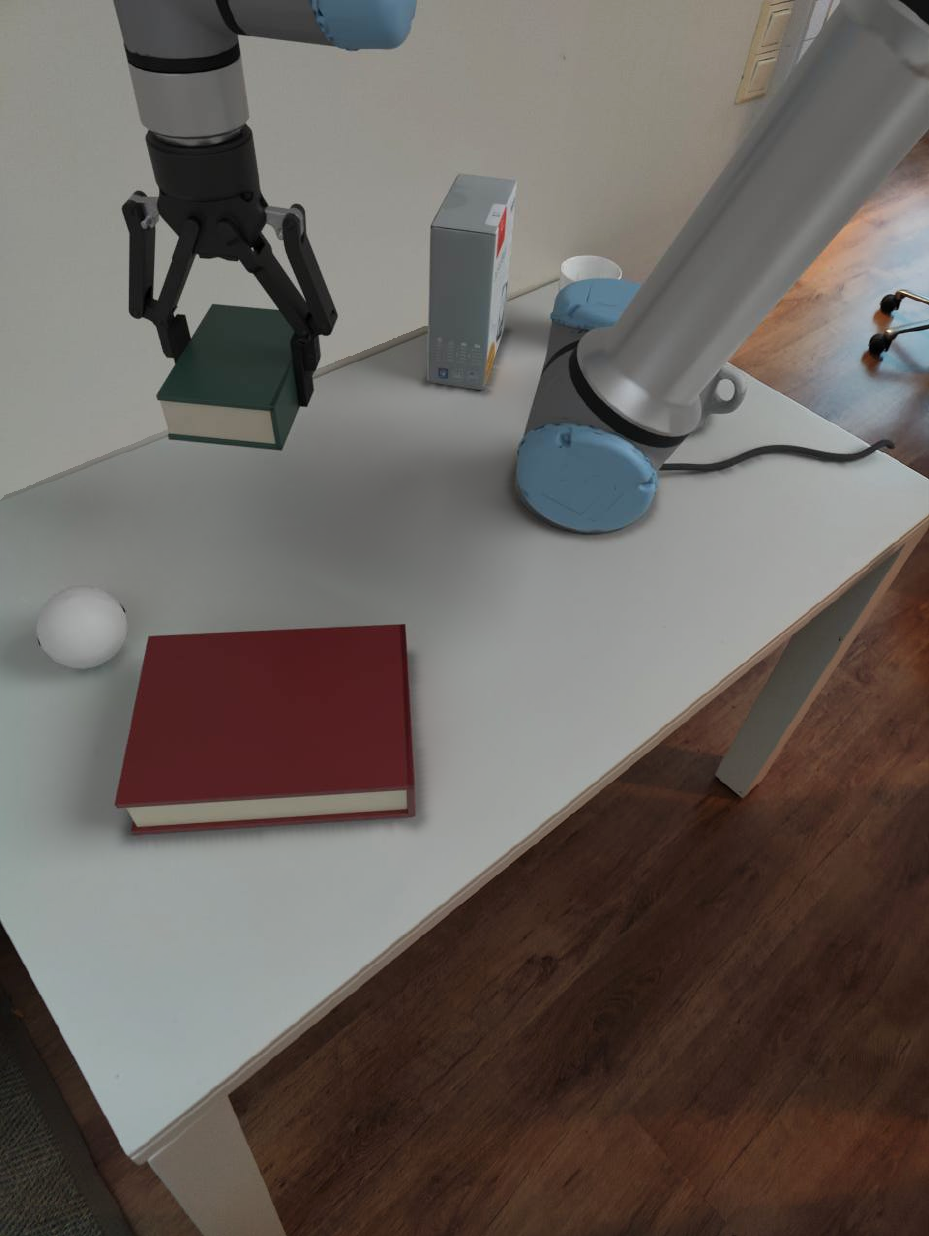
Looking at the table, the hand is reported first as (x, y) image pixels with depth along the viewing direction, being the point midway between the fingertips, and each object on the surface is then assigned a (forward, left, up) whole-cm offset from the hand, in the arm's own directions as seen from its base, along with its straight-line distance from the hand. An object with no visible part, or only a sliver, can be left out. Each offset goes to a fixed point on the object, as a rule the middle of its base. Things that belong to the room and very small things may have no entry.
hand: (249, 392), depth 76 cm
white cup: (-33, -40, -16) cm, 54 cm away
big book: (-7, +27, -16) cm, 32 cm away
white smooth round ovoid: (+13, +19, -16) cm, 28 cm away
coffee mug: (-45, -24, -16) cm, 53 cm away
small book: (0, 0, 0) cm, 0 cm away
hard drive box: (-18, -34, -16) cm, 42 cm away
